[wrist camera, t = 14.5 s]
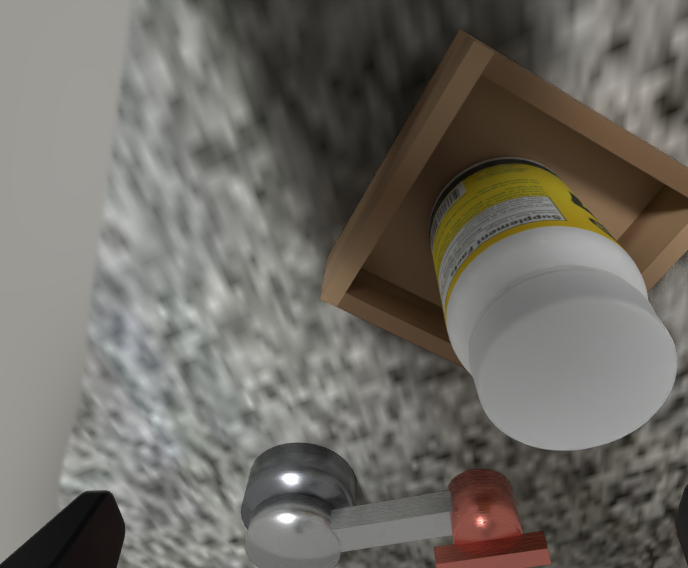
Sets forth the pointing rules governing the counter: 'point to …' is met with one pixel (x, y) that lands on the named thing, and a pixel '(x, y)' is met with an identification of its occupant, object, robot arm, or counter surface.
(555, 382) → the supplement bottle
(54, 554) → the robot arm
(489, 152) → the tray
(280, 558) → the crank
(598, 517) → the counter surface
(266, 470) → the block
